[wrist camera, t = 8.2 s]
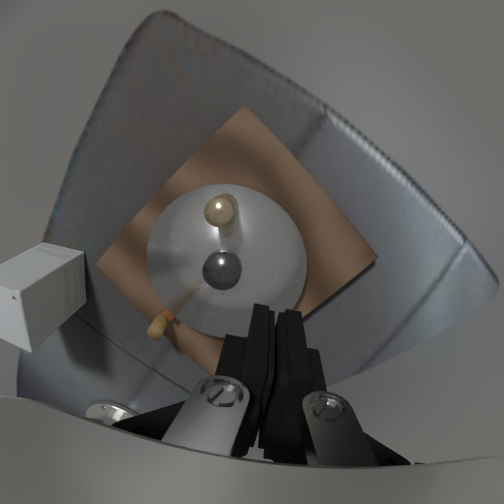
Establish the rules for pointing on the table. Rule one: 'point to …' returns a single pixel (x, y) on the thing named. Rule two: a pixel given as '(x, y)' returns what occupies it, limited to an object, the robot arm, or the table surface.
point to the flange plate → (225, 258)
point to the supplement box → (40, 293)
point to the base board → (260, 178)
